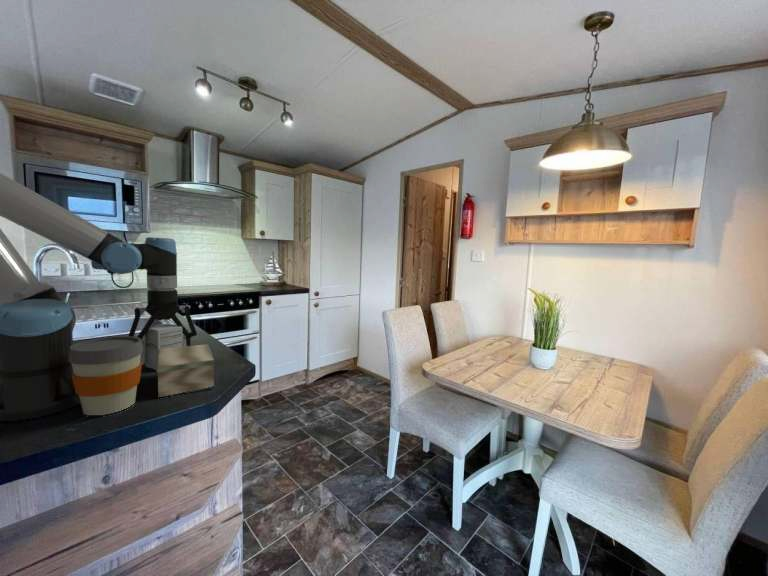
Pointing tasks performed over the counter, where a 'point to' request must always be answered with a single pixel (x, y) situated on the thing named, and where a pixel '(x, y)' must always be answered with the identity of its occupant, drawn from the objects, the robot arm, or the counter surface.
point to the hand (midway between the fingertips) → (164, 360)
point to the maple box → (184, 369)
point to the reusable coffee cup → (106, 373)
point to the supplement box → (161, 341)
